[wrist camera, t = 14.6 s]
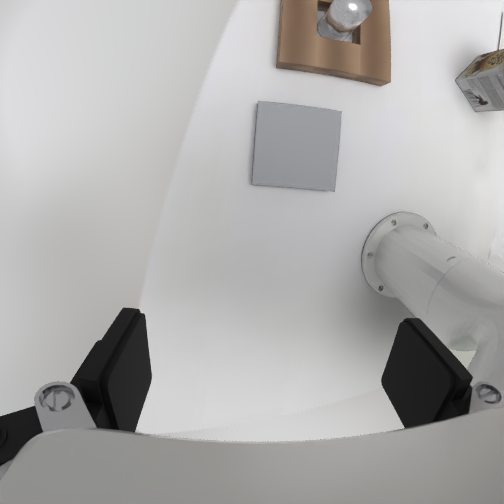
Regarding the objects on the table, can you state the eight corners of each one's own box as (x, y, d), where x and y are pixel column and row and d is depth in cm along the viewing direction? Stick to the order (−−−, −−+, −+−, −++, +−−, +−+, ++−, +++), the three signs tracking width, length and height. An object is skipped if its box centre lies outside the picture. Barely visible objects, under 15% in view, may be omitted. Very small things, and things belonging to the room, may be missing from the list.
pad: (336, 113, 36) (341, 111, 34) (330, 189, 39) (334, 191, 37) (257, 103, 36) (258, 101, 34) (251, 182, 39) (252, 184, 37)
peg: (347, 20, 32) (371, -6, 24) (347, 45, 33) (372, 22, 25) (318, 14, 32) (336, -15, 23) (317, 39, 33) (336, 13, 25)
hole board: (379, 0, 31) (388, -8, 28) (381, 86, 35) (390, 82, 32) (282, -21, 30) (285, -31, 27) (276, 68, 34) (279, 61, 31)
